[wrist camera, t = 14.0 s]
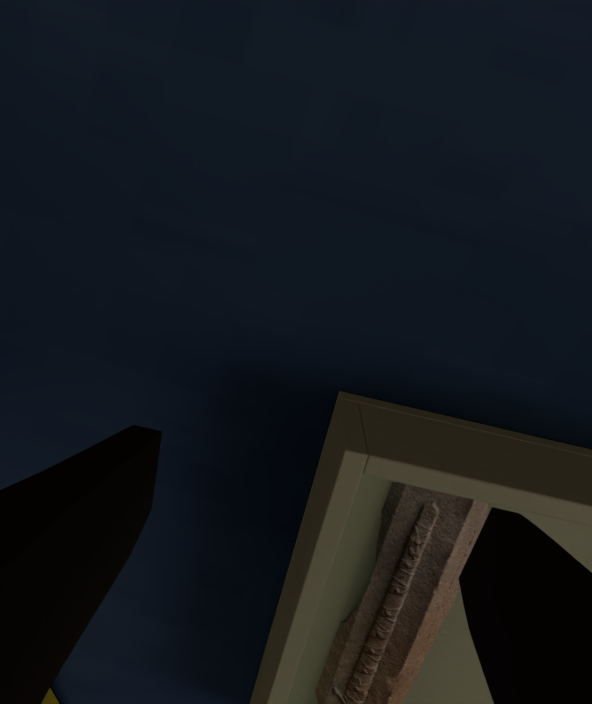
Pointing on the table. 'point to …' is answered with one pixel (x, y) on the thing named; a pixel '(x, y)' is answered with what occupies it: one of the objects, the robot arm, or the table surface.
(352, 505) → the cream square tray
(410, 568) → the sword-carved stone slab
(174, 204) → the table surface
